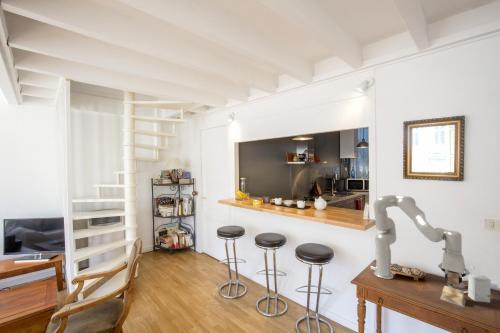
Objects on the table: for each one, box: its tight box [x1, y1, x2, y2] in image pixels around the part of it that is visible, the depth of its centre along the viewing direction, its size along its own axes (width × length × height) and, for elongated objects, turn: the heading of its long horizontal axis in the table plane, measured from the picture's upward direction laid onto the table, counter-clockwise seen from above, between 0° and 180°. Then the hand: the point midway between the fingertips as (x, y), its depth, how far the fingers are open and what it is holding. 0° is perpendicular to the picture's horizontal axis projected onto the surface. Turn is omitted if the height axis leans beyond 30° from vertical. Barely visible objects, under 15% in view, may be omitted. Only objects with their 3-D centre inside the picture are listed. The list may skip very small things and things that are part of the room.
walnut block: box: [447, 270, 459, 286], centre depth 141 cm, size 5×5×7 cm
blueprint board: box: [439, 294, 467, 308], centre depth 142 cm, size 20×14×1 cm
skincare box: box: [467, 273, 492, 303], centre depth 142 cm, size 8×6×15 cm
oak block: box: [441, 285, 465, 306], centre depth 142 cm, size 9×9×5 cm
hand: (453, 281), depth 141 cm, fingers closed on walnut block, 5 cm apart
